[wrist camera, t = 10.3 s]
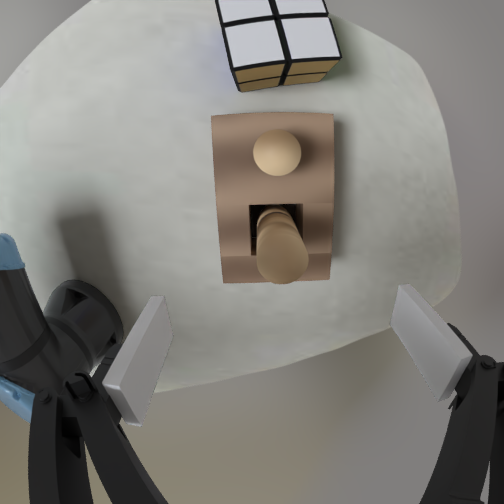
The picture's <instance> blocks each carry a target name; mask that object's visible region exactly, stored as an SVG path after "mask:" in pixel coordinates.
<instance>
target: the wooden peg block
mask: <svg viewBox="0 0 504 504" xmlns="http://www.w3.org/2000/svg"><path fill="white" fill-rule="evenodd" d="M211 125H212V144H213V161H214V177H215V192H216V206H217V219H218V231H219V243H220V254H221V265H222V275H223V283H258V282H270V281H268V280H266V279H265V278H264V277H263V276H262V275H261V274H260V272H259V270H258V267H257V238H252V223H251V205H257V204H295V226H296V228H297V230H298V232H299V234H300V236H301V239H302V241H303V243H304V245H305V248H306V250H307V252H308V257H309V261H308V266H307V269H306V271H305V272H304V274H303V275H302V276H301V277H300V278H299V279H297V280H296V281H312V280H329V279H330V267H331V253H332V236H333V215H334V120H333V114H325V113H298V112H271V113H243V114H227V115H215V116H211Z"/></svg>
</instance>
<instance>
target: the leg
mask: <svg viewBox="0 0 504 504" xmlns="http://www.w3.org/2000/svg"><path fill="white" fill-rule="evenodd" d="M308 261H309V257H308V252H307V250H306V248H305V245H304V243H303V241H302V239H301V236H300V234H299V232H298V230H297V228H296V226H295V223H294V221H293V219H292V217H291V215H290V213H289V212H288V211H287V210H286V209H285V208H284V207H282V206H280V205H279V204H268V205H266V206H265V207H264V208H263V209H262V211H261V212H260V214H259V216H258V219H257V267H258V270H259V272H260V274H261V275H262V276H263V277H264V278H265V279H266V280H268V281H270V282H272V283H276V284H288V283H291V282H294V281H296V280H297V279H299V278H300V277H301V276H302V275H303V274H304V272H305V271H306V269H307V266H308Z"/></svg>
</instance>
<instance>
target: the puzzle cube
mask: <svg viewBox="0 0 504 504" xmlns="http://www.w3.org/2000/svg"><path fill="white" fill-rule="evenodd" d="M215 3H216V8H217V12H218V16H219V21H220V25H221V28H222V34H223V38H224V43H225V47H226V52H227V57H228V61H229V66H230V70H231V73H232V75H233V78H234V81H235V84H236V86H237V89H238V91H240V92H246V91H251V90H257V89H263V88H269V87H276V86H278V85H279V84H282V85H291V84H300V83H310V82H319V81H320V80H321V79H322V78H323V77H324V76H325V75H326V74H327V72H328V71H329V70H330V69H331V68H332V67H333V66H334V65H336V64H337V63H338V62H339V61H340V59H341V58H342V55H341V51H340V47H339V44H338V40H337V37H336V34H335V31H334V27H333V24H332V21H331V19H330V18H329V17H327V16H328V14H329V13H328V10H327V7H326V4H325V1H324V0H215Z"/></svg>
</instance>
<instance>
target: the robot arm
mask: <svg viewBox="0 0 504 504" xmlns="http://www.w3.org/2000/svg"><path fill="white" fill-rule="evenodd" d="M24 267H25V264H24V263H23V262H22V260H21V257H20V254H19V252H18V249H17V246H16V243H15V241H14V239H13V238H12V237H11V236H10V235H8V234H5V233H1V234H0V400H1V401H2V402H3V403H4V404H5V405H6V406H7V407H8V408H9V409H11V410H12V411H13V412H14V413H16V414H17V415H18V416H20V417H21V418H23V419H24V420H26V421H27V422H29V423H30V435H29V456H28V479H29V498H30V504H93V499H92V494H91V489H90V483H89V477H88V470H87V462H86V454H85V444H86V446H87V449H88V451H89V454H90V457H91V459H92V462H93V464H94V466H95V469H96V471H97V473H98V475H99V478H100V480H101V482H102V484H103V486H104V488H105V490H106V492H107V494H108V496H109V498H110V500H111V502H112V504H168V502H167V501H166V500H165V498H164V497H163V496H162V494H161V493H160V491H159V490H158V488H157V487H156V485H155V484H154V482H153V481H152V479H151V478H150V476H149V475H148V473H147V471H146V470H145V468H144V467H143V465H142V463H141V462H140V460H139V458H138V457H137V455H136V453H135V451H134V450H133V448H132V446H131V444H130V442H129V440H128V439H127V437H126V435H125V433H124V431H123V429H122V427H121V425H120V424H119V422H120V420H121V417H122V418H123V419H124V421H125V422H126V424H130V425H136V426H141V427H142V425H143V421H144V419H145V416H146V412H147V410H148V406H149V404H150V401H151V398H152V395H153V392H154V389H155V386H156V383H157V380H158V377H159V375H160V372H161V369H162V366H163V363H164V361H165V358H166V355H167V352H168V350H169V347H170V344H171V342H172V339H173V336H174V335H173V331H172V327H171V323H170V319H169V314H168V310H167V305H166V301H165V296H151V298H150V299H149V301H148V303H147V304H146V306H145V308H144V309H143V311H142V313H141V314H140V316H139V318H138V319H137V321H136V323H135V324H134V326H133V328H132V330H131V331H130V333H129V335H128V336H127V338H126V340H125V342H124V343H123V344H120V343H121V341H122V338H123V327H122V323H121V320H120V317H119V315H118V313H117V311H116V310H115V308H114V307H113V305H112V304H111V303H110V301H109V300H108V299H107V298H106V297H105V296H104V295H103V294H102V293H101V292H100V291H98V290H97V289H96V288H94V287H93V286H91V285H89V284H87V283H84V282H82V281H77V280H69V281H66V282H63V283H62V284H61V285H60V286H58V287H57V288H56V289H55V290H54V291H53V293H52V294H51V296H50V298H49V300H48V303H47V305H46V307H45V309H44V312H42V310H41V308H40V306H39V303H38V301H37V299H36V296H35V294H34V291H33V289H32V287H31V284H30V281H29V279H28V276H27V273H26V271H25V268H24ZM390 325H391V326H392V328H393V329H394V331H395V332H396V334H397V335H398V337H399V339H400V340H401V342H402V343H403V345H404V347H405V348H406V350H407V351H408V353H409V354H410V356H411V358H412V359H413V361H414V362H415V364H416V366H417V368H418V369H419V371H420V372H421V374H422V376H423V377H424V379H425V381H426V383H427V384H428V386H429V388H430V390H431V391H432V393H433V395H434V397H435V398H436V400H437V401H438V402H439V401H441V400H444V399H447V398H449V397H450V395H451V394H452V392H453V390H454V389H455V391H456V392H457V395H456V396H455V398H454V400H453V401H452V403H451V404H450V406H449V408H448V409H450V408H451V407H452V406H453V408H452V412H451V416H450V420H449V424H448V428H447V432H446V435H445V439H444V442H443V445H442V449H441V451H440V454H439V457H438V460H437V463H436V466H435V468H434V471H433V474H432V476H431V479H430V481H429V483H428V486H427V488H426V490H425V493H424V495H423V497H422V499H421V501H420V503H419V504H484V502H482V501H480V496H481V492H482V489H483V486H484V482H485V478H486V474H487V470H488V465H489V461H490V484H489V496H488V504H504V362H499V363H496V361H495V360H494V359H493V358H492V357H490V356H487V355H482V356H480V355H479V354H478V353H477V352H476V350H475V349H474V348H473V346H472V345H471V344H470V343H469V342H468V341H467V340H466V338H465V337H464V336H463V335H462V334H461V332H460V331H459V330H458V329H457V328H456V327H454V326H453V325H451V324H450V323H447V324H446V323H445V321H444V320H443V319H442V318H441V317H440V316H439V315H438V313H437V312H435V310H434V309H433V308H432V307H431V306H430V305H429V304H428V303H427V301H426V300H425V299H424V298H423V297H422V296H421V295H420V294H419V293H418V292H417V291H416V290H415V289H414V288H413V287H412V286H411V285H410V284H401V285H399V287H398V291H397V296H396V301H395V305H394V309H393V313H392V317H391V321H390ZM100 363H101V364H100ZM98 364H99V366H98V368H97V369H96V371H95V373H94V375H93V376H92V378H91V376H90V375H89V374H90V372H91V371H92V369H93V368H94V367H95V366H97V365H98ZM84 441H85V444H84Z"/></svg>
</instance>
